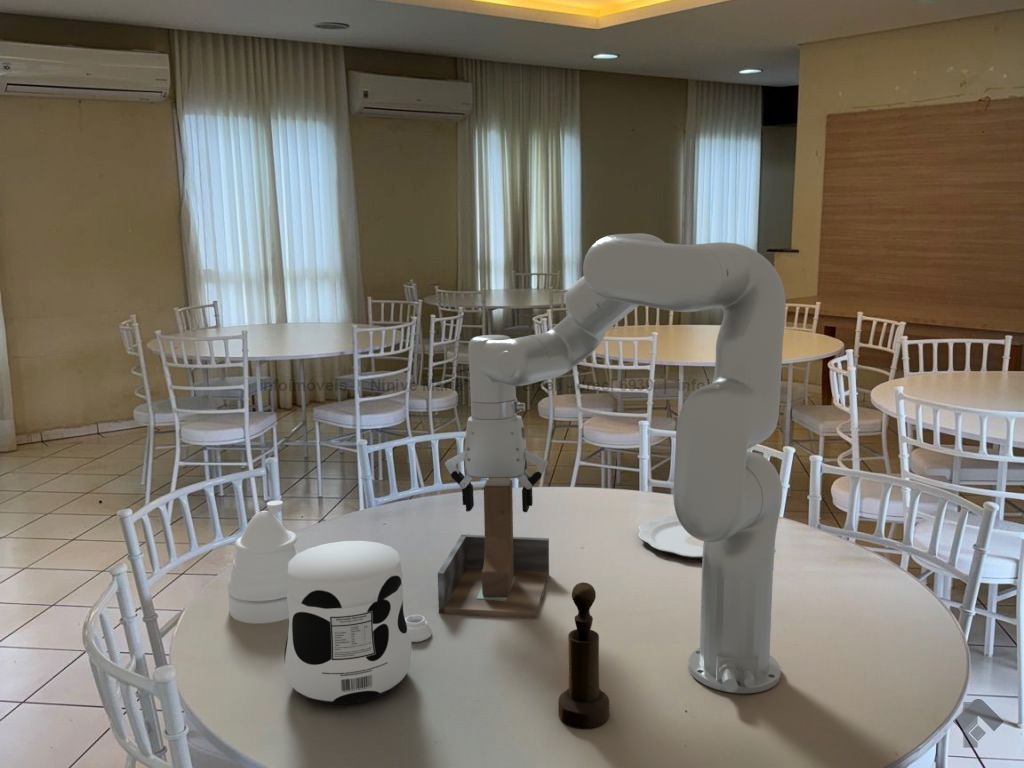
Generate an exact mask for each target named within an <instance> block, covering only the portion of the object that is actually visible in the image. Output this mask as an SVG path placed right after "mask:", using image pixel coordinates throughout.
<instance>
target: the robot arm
mask: <svg viewBox="0 0 1024 768" xmlns="http://www.w3.org/2000/svg"><path fill="white" fill-rule="evenodd" d="M582 265H583V266H582V273H583V276H582V277H580V278H579V279H578V280H577V281H575V282H574V283H573V284H572V285H571V286H569V288H568V289H567V291H566V293H565V295H564V296H565V297H564V302H565V303H564V304H565V307H566V310H567V312H568V315H566V316H565V317H564V318H563V319H562V320H561V321H560V322H559V323H557V324H556V325H555V326H554V327H552V328H550V330H548V331H547V332H542V333H537V334H530V335H526V336H520V337H516V338H514V337H513V338H511V337H510V336H508V335H504V334H487V335H486V334H485V335H483V334H482V335H478V336H474V337H472V338H471V339H470V340H469V342H468V347H467V348H468V352H467V353H468V369H469V388H470V389H469V391H470V392H469V393H470V412H471V413H470V414H471V415H470V416H469V417H468V418H467V422H466V428H465V429H466V430H465V441H464V442H465V444H464V451H462V452H460V453H459V454H456V455H454V456H452V457H451V458H449V459H447V460H446V461H445V462H444V465H445V468H446V470H447V471H448V473H449V474H450V477H451V479H452V480H453V481H455V483H457V485H458V486H459V487H460V489H461V494H462V496H461V497H462V505H463V506H465V512H471V511H472V510H473V508H474V505H475V501H474V486H473V484H472V483H471V481H472V480H473V479H474V478H475V479H517V480H518V481H519V483H521V485H522V486H523V487H522V489H521V496H522V497H521V501H522V502H521V504H522V512H523V513H528V511H529V509H530V507H532V506H533V498H534V497H533V487H534V485H535V484H537V482H539V480H541V478H542V476H543V474H544V472H545V470H546V468H547V466H548V465H549V464H548V460H547V459H545V458H543V457H540V456H539V455H537V454H534V453H532V452H530V451H529V450H528V448H527V439H526V432H525V426H524V421H523V418H522V416H521V415H518V413H520V412H525V411H526V403H525V402H520V401H519V400H518V398H517V394H516V393H517V391H516V389H517V387H523V386H527V385H531V384H535V383H539V382H541V381H546V380H551V379H556V378H558V377H561V376H563V375H564V374H567V373H568V372H570V371H571V370H572V369H574V368H575V367H576V366H578V365H579V364H580V363H582V362H583V361H584V360H585V359H586V358H588V357H589V356H590V355H591V354H592V353H594V351H596V349H597V348H598V347H599V346H600V344H601V342H602V341H603V340H604V338H605V335H606V333H607V332H608V331H609V330H610V329H611V328H612V327H614V326H615V325H616V324H618V323H619V322H620V321H621V320H622V319H623V318H625V317H626V316H628V314H630V313H631V312H632V311H634V310H635V309H636V308H638V307H639V306H642V307H649V308H654V309H658V310H665V311H671V312H679V313H681V312H682V313H694V312H701V311H705V310H711V309H715V308H721V309H722V312H723V317H722V321H721V325H720V328H719V331H718V334H717V338H716V342H715V362H714V363H715V364H714V373H713V379H712V382H711V383H709V384H707V385H703V386H702V387H700V388H698V389H696V390H694V391H693V392H692V393H691V394H689V396H688V397H687V399H686V400H685V401H684V403H683V404H682V406H681V410H680V411H679V415H678V418H677V422H676V431H675V432H676V433H675V446H674V447H675V450H674V451H675V452H674V467H673V469H674V470H673V471H674V472H673V486H672V487H673V490H672V491H673V494H672V495H673V506H674V510H675V514H676V515H677V517H678V520H679V522H680V523H681V525H682V527H683V528H684V529H685V530H686V531H687V532H688V533H689V534H690V535H691V536H690V537H693V538H694V539H697V540H698V541H702V542H703V546H702V547H703V557H702V559H701V560H702V564H701V590H700V593H701V595H700V597H701V598H700V633H699V634H700V638H699V647H698V648H696V649H695V650H694V651H693V652H692V653H691V654H690V655H689V658H688V664H687V667H688V670H689V672H690V674H691V676H693V678H695V680H697V681H698V682H699V683H701V684H703V685H705V686H707V687H709V688H712V689H714V690H717V691H720V692H721V691H722V692H725V693H732V694H744V695H745V694H755V693H760V692H765V691H767V690H769V689H772V688H773V687H775V686H776V685H777V684H779V681H780V680H781V665H780V663H779V662H778V661H777V660H776V658H774V657H773V656H771V653H770V651H771V650H770V649H771V631H772V630H771V627H772V606H773V605H772V603H773V601H772V600H773V582H774V581H773V580H774V578H773V577H774V568H775V567H774V566H775V564H774V563H775V549H776V548H775V547H776V535H777V529H778V523H779V518H780V515H781V514H780V513H781V507H782V499H783V486H782V480H781V478H780V474H779V473H778V470H777V469H776V467H775V465H774V464H773V463H772V462H771V461H770V460H769V459H768V458H766V457H765V456H763V455H761V454H759V453H757V452H753V451H748V450H749V449H751V448H753V447H755V446H757V445H760V444H761V443H763V442H764V441H765V440H767V439H768V438H770V437H771V436H772V435H773V433H774V432H775V430H776V429H777V425H778V422H779V419H780V418H779V417H780V403H781V401H780V400H781V386H782V385H781V383H782V373H783V372H782V369H783V350H784V349H783V345H784V334H785V322H786V321H785V320H786V310H787V309H786V308H787V307H786V295H785V294H786V293H785V289H784V284H783V281H782V279H781V277H780V275H779V272H778V270H776V268H775V267H774V266H773V264H772V263H771V262H770V261H769V260H768V259H767V258H766V257H764V255H762V254H761V253H760V252H758V251H756V250H755V249H753V248H750V247H748V246H746V245H742V244H739V243H735V242H718V241H717V242H708V243H696V244H679V243H670V242H669V243H668V242H665V241H664V240H663V239H661V238H660V237H657V236H655V235H652V234H648V233H618V234H616V233H615V234H611V235H606V236H604V237H602V238H600V239H598V240H596V242H594V243H593V244H592V245H591V246H590V247H589V248H588V251H587V253H586V254H585V256H584V260H583V264H582ZM463 461H464V470H465V471H464V472H465V475H464V474H463V473H462V472H461V471H460V470H459V469H458V467H457V465H458V464H460V463H462V462H463ZM528 462H529V463H531V464H532V465H535V466H536V467H537V468H536V470H535V472H533V474H532V475H530V474H529V473H528V471H527V469H528Z"/></svg>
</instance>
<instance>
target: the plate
mask: <svg viewBox="0 0 1024 768" xmlns="http://www.w3.org/2000/svg"><path fill="white" fill-rule="evenodd" d="M638 531H639V533H638V538H639V539H640V541H641V542H644V543H645V544H648V545H649V546H650V547H651V548H653V549H655V550H657V551H660V552H663V553H667V554H671V555H673V556H677V557H683V558H688V559H693V558H694V559H695V560H702V557H703V546H698V545H694V544H691V543H688V542H687V539H688V538H690V537H692V536H691V535H690V534H689V533H688V532H687V531H686V530H685V529H684V528H683V527H682V525H681V523H680V522H679V520H678V517H677V515H676V513H672V514H665V515H658V516H655V517H652V518H651V519H649V521H647V522H643V523H641V524H640V525H639V526H638Z"/></svg>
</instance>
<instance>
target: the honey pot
mask: <svg viewBox="0 0 1024 768" xmlns="http://www.w3.org/2000/svg"><path fill="white" fill-rule="evenodd" d="M283 505H284V503H283V501H282V500H270V501H268V502H267V503H266V507H267V509H268V511H267V510H262V511H258V512H257V513H255V514H254V515H253V516H252V518H251V519H250V520H249V522H248V523H247V525H246V527H245V529H244V531H243V534H242V535H241V536H240V537H238V538H236V541H235V543H234V547H235V549H236V553H235V557H234V559H233V561H232V568H231V569H230V576H229V577H228V579H227V592H228V604H229V605H228V607H229V614H230V617H232V619H233V620H236V621H238V622H240V623H241V622H242V623H245V624H259V625H260V624H271V623H276V622H281V621H284V620H289V612H288V602H287V594H288V591H287V572H288V564H289V561H290V560H291V559H292V558H293V557H294V556H295V555H296V554H298V553H299V552H298V551H297V549H296V548H295V544H297V541H298V536H297V534H296V533H295V532H294V531H291V530H287V529H286V528H285V526H284V524H283V523H282V522H281V521H280V520H279V518H278V517H277V516H276V515H278V514H279V513H281V511H282V509H283Z"/></svg>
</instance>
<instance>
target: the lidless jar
mask: <svg viewBox="0 0 1024 768" xmlns="http://www.w3.org/2000/svg"><path fill="white" fill-rule="evenodd" d="M404 618H405V621H406V624H407V627H408V630H409V633H410V637H411V643H418V642H423V641H425V640H428V639H429V638H430V637H431V636H432V635H433V634H432V633H433V631H432V628H431V627H430V625H429V623H428V621H427V620H426V618H425V616H423V615H420V614H411V615H409V616H407V617H404Z"/></svg>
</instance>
